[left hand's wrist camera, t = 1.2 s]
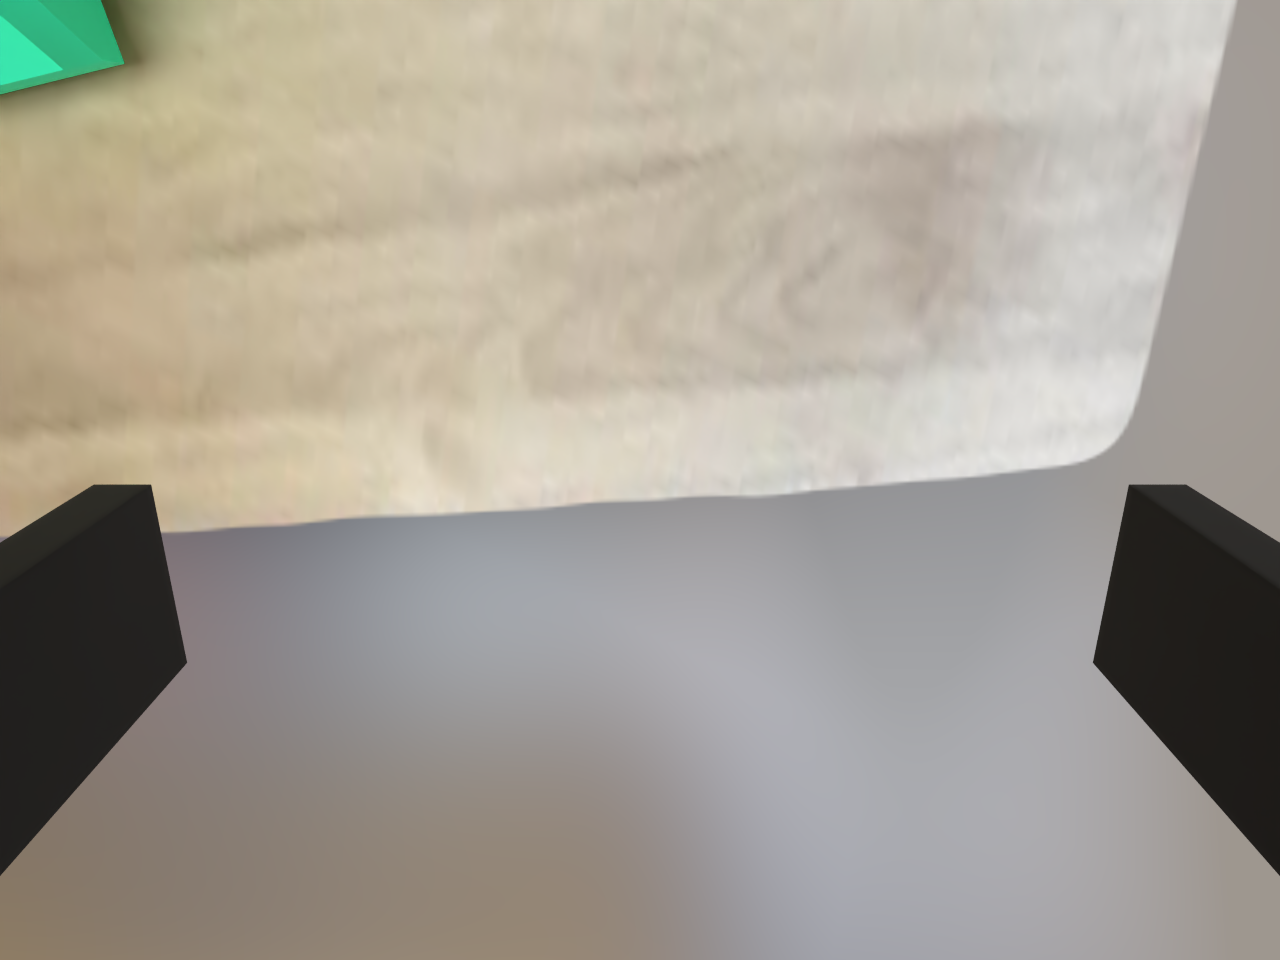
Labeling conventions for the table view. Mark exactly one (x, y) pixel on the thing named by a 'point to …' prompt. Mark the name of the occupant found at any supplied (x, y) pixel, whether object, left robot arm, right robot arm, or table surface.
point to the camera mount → (53, 41)
